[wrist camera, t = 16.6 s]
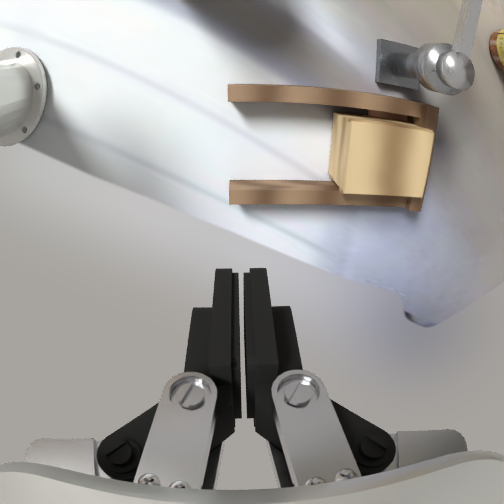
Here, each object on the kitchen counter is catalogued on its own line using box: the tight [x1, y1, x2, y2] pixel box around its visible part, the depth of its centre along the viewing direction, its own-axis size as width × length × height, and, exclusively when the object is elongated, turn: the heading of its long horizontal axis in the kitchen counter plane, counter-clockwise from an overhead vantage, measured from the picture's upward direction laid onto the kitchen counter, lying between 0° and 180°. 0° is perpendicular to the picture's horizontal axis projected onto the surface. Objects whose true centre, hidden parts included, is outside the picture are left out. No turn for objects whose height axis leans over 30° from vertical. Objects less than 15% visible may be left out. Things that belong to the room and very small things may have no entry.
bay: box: [228, 84, 439, 211], centre depth 31 cm, size 22×12×4 cm, turn 90°
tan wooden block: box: [328, 112, 434, 198], centre depth 30 cm, size 9×7×6 cm
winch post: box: [375, 39, 462, 95], centre depth 23 cm, size 5×5×10 cm
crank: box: [436, 0, 482, 90], centre depth 15 cm, size 12×3×4 cm, turn 165°
